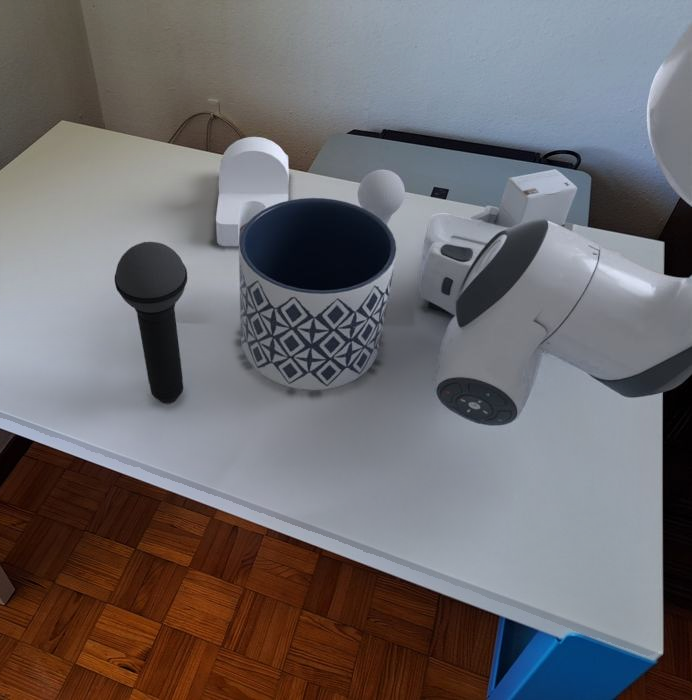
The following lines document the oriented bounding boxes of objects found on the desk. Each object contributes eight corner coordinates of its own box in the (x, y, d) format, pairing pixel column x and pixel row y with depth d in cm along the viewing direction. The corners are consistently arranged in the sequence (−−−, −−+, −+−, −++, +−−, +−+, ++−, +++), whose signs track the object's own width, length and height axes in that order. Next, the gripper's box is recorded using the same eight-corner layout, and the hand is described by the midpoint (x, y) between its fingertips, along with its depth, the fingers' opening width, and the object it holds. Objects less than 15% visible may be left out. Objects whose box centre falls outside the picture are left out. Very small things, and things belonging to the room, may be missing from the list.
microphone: (152, 367, 77) (129, 221, 63) (207, 381, 76) (195, 234, 61) (127, 411, 73) (96, 264, 59) (184, 426, 71) (166, 279, 57)
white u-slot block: (216, 246, 93) (212, 180, 85) (224, 173, 105) (222, 111, 98) (287, 246, 92) (290, 180, 85) (287, 174, 104) (289, 111, 97)
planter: (387, 393, 74) (409, 293, 63) (240, 393, 74) (237, 294, 64) (369, 295, 85) (385, 195, 74) (241, 296, 85) (239, 198, 75)
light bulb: (372, 219, 96) (381, 155, 88) (405, 238, 92) (418, 173, 85) (343, 236, 93) (350, 172, 86) (376, 257, 90) (386, 191, 83)
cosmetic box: (525, 253, 84) (556, 165, 75) (546, 275, 81) (581, 187, 72) (479, 262, 83) (506, 174, 74) (499, 285, 80) (528, 196, 71)
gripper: (631, 298, 64) (640, 218, 72) (414, 245, 70) (445, 177, 79) (606, 345, 68) (617, 264, 77) (404, 291, 75) (435, 222, 83)
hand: (529, 220), depth 78 cm, fingers closed on cosmetic box, 7 cm apart
